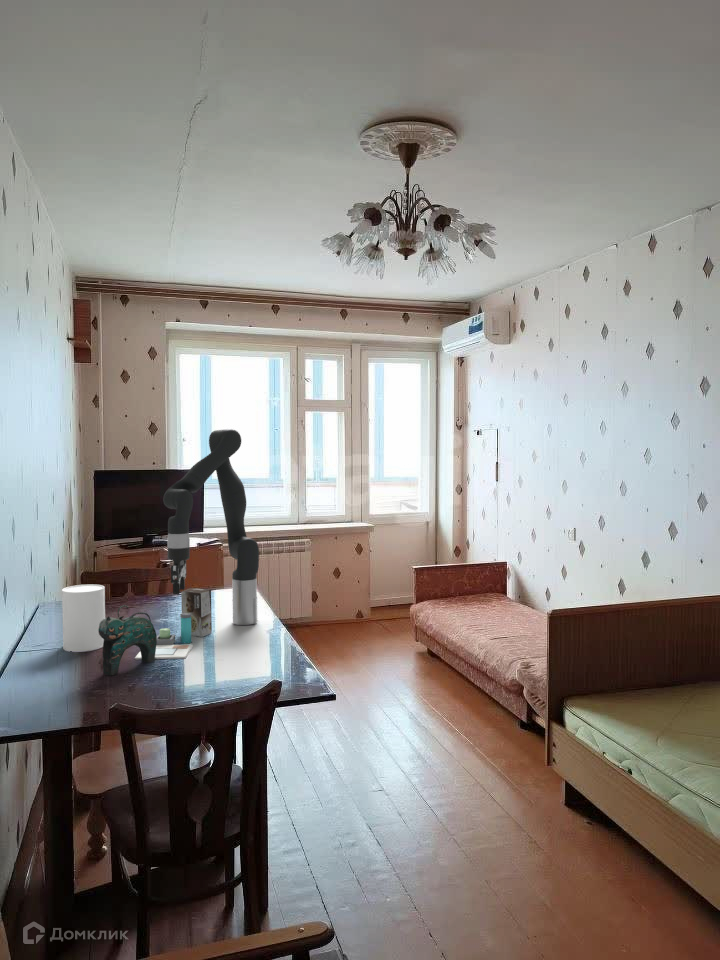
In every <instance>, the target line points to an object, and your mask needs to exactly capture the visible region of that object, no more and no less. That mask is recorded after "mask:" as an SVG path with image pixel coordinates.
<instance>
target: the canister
mask: <svg viewBox="0 0 720 960" xmlns="http://www.w3.org/2000/svg"><path fill="white" fill-rule="evenodd" d="M105 588H106V587H105V586H104V585H102V584H96V583H95V584H93V583H92V584H77V585H71V586H67V587H64V588H62V589H61V599H62V600H61V603H62V607H61V610H62V643H63V644H62V645H63V646H62V648H63V650H64V651H66V652H70V651H72V653H79V652H81V653H82V652H91V651H95V650H99V649H101V648H102V649H103V642H104V639H103V638H102V637H101V636H100V635H99V631H98V630H99V624H100V622H101V621H102V620H103V619H105V618H106V595H105V593H106V592H105V591H106V590H105Z"/></svg>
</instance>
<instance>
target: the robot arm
mask: <svg viewBox="0 0 720 960" xmlns="http://www.w3.org/2000/svg"><path fill="white" fill-rule="evenodd" d="M208 445H209V450H210V453H209V454H208V455H206V456H204V457H202V459H200V460H199V461H197V462H196V463H194V465H192V467H191V468H190V469H188V471H187V473H185V475H184V476H183V477H182V478H181V479H180V480H178V481H176V482H175V483H174V484H172V485H171V486H170V487H168V489H167V490H166V491H165V493H164V495H163V501H162V502H163V504H164V506H165V507H166V508H167V509H171V510H176V512H175V515H174V516H170V517H169V518H168V521H167V560H168V561H173V564H172V565H170V584H172V595H174V596H175V595H180V594H181V592H180V591H181V590H182V591H184V590H186V589H185V587H186V586H185V585H186V577H187V561H188V560H189V559H190V557H191V556H190V555H191V553H190V552H191V551H190V547H191V545H190V534H189V533H190V527H189V526H190V525H189V522H190V521H189V520H190V517H191V514H192V511H193V505H194V497H193V495H192V494H194V493H197V492H198V491H199V490H200V489H201V488H202V487H203V486H204V484H205V483H206V482H207V481H208V479H209V478H210V477H211V476H212V475H213V473H214V472H216V477H217V483H218V487H219V493H220V494H219V495H220V499H221V504H222V508H223V509H222V510H223V514H224V519H225V525H226V532H227V533H226V535H227V545H228V546H227V548H228V553H229V554H230V556H231V557H232V558H233V559H235V560H236V569H234V570H233V572H232V576H231V577H232V579H231V581H232V582H231V583H232V584H231V585H232V586H231V587H232V623H233V624H234V625H236V626H237V625H238V626H248V625H249V626H250V625H257V622H258V595H257V594H258V593H257V592H258V590H257V589H258V586H257V584H258V583H257V582H258V581H257V574H258V571H259V563H260V548H259V544H258V542H257V541H256V540H255V539H253V538H252V537H248V536H247V533H246V532H247V531H246V529H245V515H246V511H247V496H246V490H245V487H244V484H243V482H242V480H241V478H240V476H239V475H238V474H237V473H236V471H235V470H234V468H233V466H232V464H231V461H230V457H232V456H233V455H234V454H236V453H237V451H238V450H239V449H240V447H241V446H242V436H241V435H240V432H239V431H238V430H236V429H234V428H233V429H232V428H231V429H230V428H227V429H215V430H213V431H212V432H211V433H210V435H209V437H208Z"/></svg>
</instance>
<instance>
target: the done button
mask: <svg viewBox="0 0 720 960" xmlns="http://www.w3.org/2000/svg"><path fill="white" fill-rule="evenodd" d="M158 635H159V637H160V639H170V635H171V629H170V628H167V627H166V628H160V629H159V634H158Z"/></svg>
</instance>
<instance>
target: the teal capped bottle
mask: <svg viewBox="0 0 720 960" xmlns="http://www.w3.org/2000/svg"><path fill="white" fill-rule="evenodd" d="M179 617H180V644H181V645H188V644H191V643H192V636H191V613H182V612H181V613H180V616H179Z"/></svg>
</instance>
